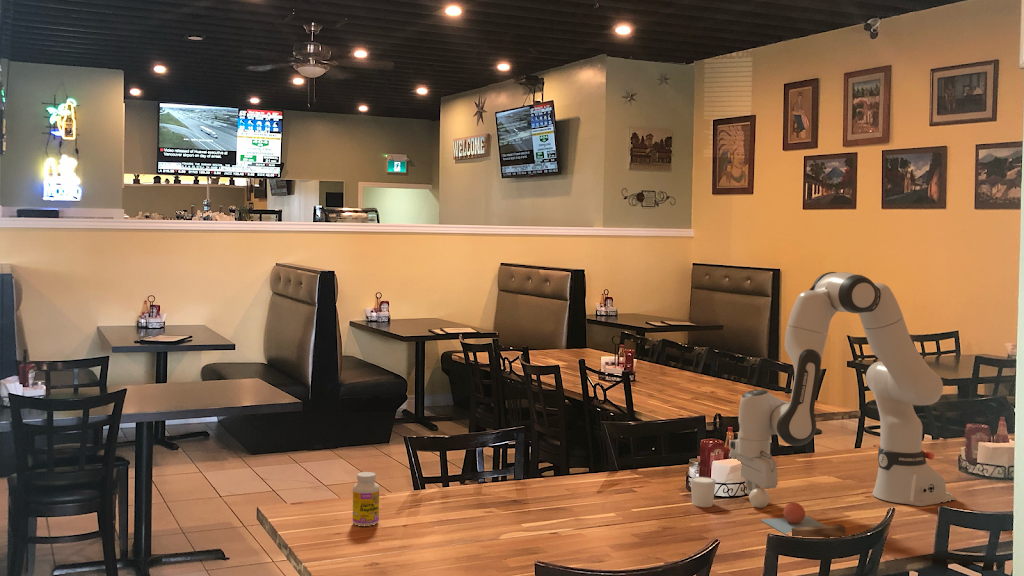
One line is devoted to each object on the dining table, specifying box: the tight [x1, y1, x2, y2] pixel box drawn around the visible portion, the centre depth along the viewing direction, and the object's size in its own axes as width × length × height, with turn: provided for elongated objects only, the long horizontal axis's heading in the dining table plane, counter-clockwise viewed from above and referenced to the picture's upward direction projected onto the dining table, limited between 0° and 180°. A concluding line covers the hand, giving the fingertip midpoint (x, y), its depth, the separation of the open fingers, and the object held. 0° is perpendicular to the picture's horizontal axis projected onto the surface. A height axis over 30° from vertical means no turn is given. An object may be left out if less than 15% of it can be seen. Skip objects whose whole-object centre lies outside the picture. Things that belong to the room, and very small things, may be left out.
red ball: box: [783, 502, 806, 524], centre depth 238 cm, size 5×5×5 cm
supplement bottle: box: [352, 471, 380, 526], centre depth 233 cm, size 7×7×13 cm
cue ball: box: [748, 487, 770, 509], centre depth 251 cm, size 5×5×5 cm
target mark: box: [760, 515, 825, 536], centre depth 235 cm, size 14×14×1 cm
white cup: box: [690, 476, 717, 508], centre depth 254 cm, size 7×7×7 cm
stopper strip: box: [792, 523, 846, 538], centre depth 227 cm, size 14×2×2 cm, turn 106°
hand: (752, 496), depth 257 cm, fingers closed
